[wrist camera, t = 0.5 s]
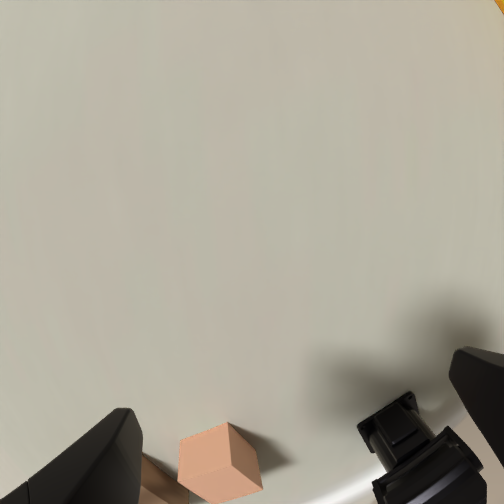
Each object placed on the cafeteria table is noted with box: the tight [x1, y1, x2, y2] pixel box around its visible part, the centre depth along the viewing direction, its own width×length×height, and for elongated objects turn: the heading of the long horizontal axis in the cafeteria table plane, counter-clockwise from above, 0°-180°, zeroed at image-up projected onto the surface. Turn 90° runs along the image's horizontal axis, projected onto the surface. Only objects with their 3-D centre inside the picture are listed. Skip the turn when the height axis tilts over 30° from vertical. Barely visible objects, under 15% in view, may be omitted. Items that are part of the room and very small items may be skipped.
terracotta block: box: [178, 422, 263, 504], centre depth 21 cm, size 5×5×5 cm
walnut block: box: [138, 455, 189, 504], centre depth 22 cm, size 9×9×4 cm
